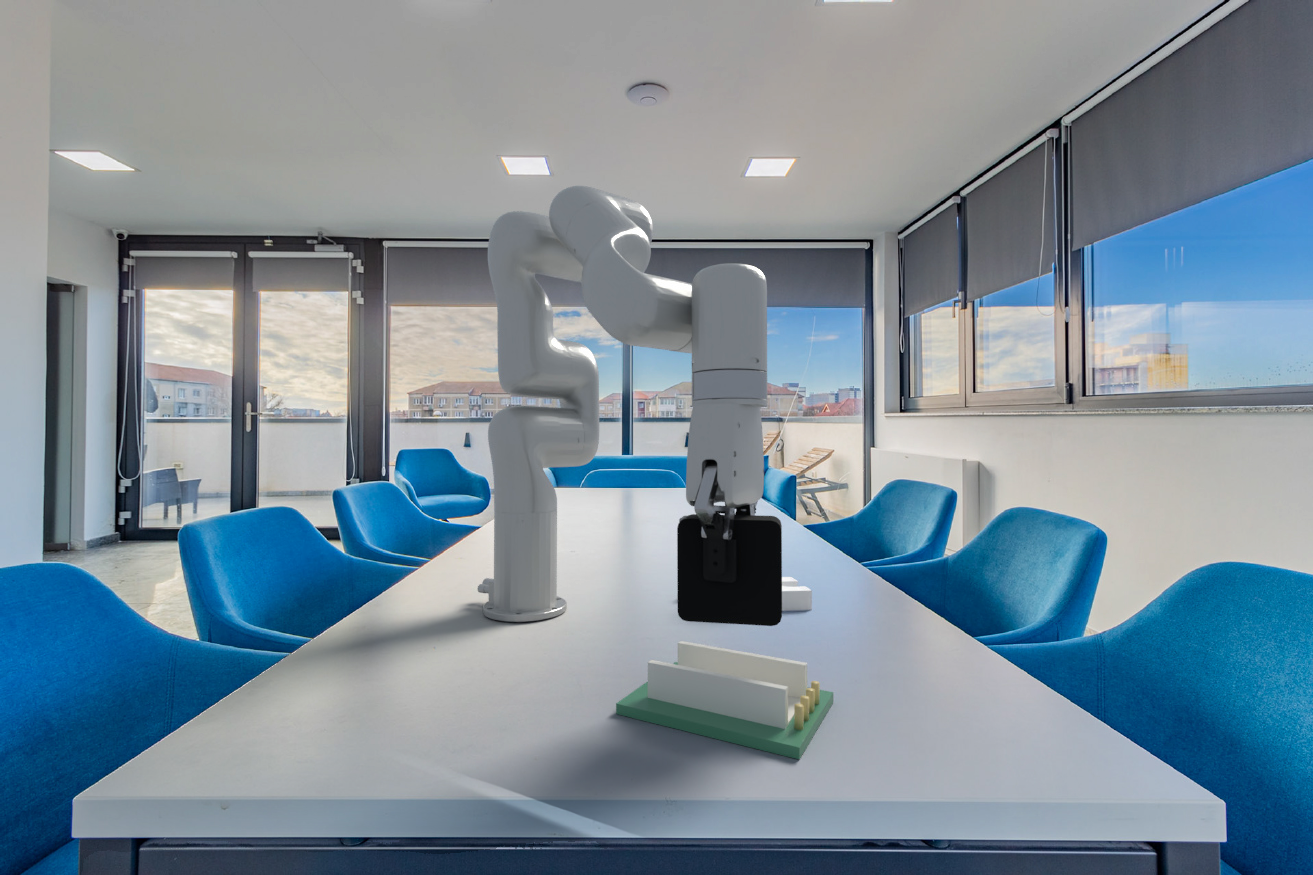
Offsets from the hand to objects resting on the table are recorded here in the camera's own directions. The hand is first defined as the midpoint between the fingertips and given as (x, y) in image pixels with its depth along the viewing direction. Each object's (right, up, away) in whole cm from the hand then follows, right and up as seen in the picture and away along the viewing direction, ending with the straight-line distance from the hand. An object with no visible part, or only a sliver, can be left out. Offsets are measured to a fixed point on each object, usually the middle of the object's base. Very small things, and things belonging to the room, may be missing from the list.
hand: (729, 573), depth 62 cm
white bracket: (+7, -14, +39) cm, 42 cm away
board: (0, -13, 0) cm, 13 cm away
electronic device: (0, -5, 0) cm, 5 cm away
